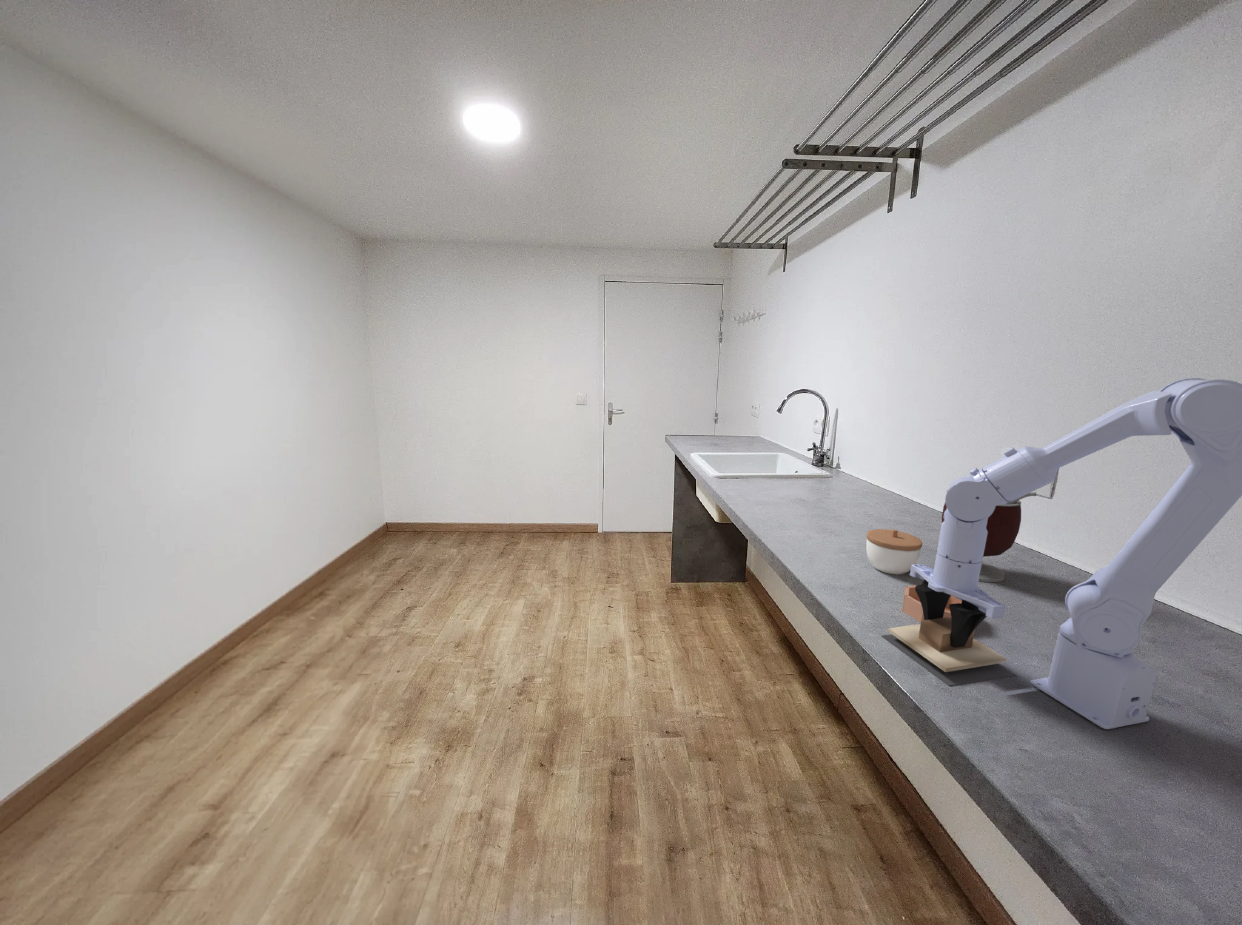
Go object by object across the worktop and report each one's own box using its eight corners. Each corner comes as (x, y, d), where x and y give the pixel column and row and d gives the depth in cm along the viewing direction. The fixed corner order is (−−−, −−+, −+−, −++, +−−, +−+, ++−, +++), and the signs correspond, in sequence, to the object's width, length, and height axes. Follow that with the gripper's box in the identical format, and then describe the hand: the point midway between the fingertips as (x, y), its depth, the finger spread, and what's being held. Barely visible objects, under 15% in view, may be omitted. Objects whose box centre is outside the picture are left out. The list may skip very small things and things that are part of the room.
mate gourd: (925, 567, 112) (939, 481, 108) (944, 553, 121) (958, 473, 117) (1009, 593, 100) (1029, 498, 96) (1024, 574, 110) (1043, 487, 105)
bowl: (984, 628, 87) (988, 609, 86) (935, 634, 84) (938, 615, 83) (934, 599, 96) (937, 583, 96) (889, 604, 94) (891, 587, 93)
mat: (1015, 677, 73) (1015, 674, 73) (948, 688, 70) (949, 685, 70) (940, 630, 85) (940, 628, 85) (881, 638, 82) (881, 635, 82)
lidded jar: (925, 583, 104) (932, 541, 102) (870, 577, 106) (875, 536, 104) (907, 563, 114) (913, 524, 112) (857, 558, 116) (862, 520, 114)
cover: (1005, 662, 74) (1010, 640, 73) (945, 672, 71) (949, 649, 70) (942, 624, 84) (946, 604, 83) (888, 631, 82) (891, 611, 81)
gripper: (899, 540, 81) (888, 616, 83) (982, 578, 67) (965, 668, 70) (935, 537, 82) (922, 612, 85) (1023, 574, 68) (1004, 662, 71)
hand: (944, 637), depth 77 cm, fingers closed on cover, 4 cm apart
